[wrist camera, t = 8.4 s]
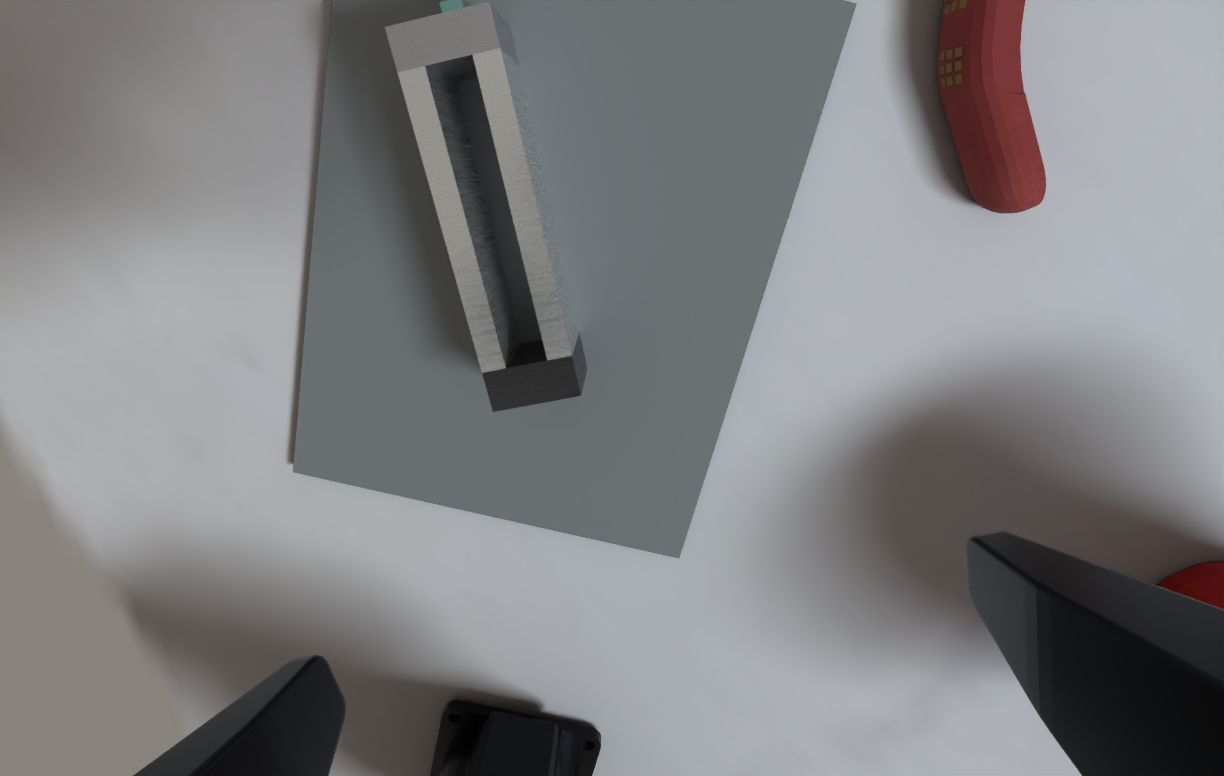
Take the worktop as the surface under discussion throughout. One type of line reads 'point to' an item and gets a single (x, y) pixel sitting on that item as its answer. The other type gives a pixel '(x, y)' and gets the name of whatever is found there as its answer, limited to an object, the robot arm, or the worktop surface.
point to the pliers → (989, 103)
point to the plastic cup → (1199, 583)
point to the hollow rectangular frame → (428, 78)
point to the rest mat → (591, 249)
